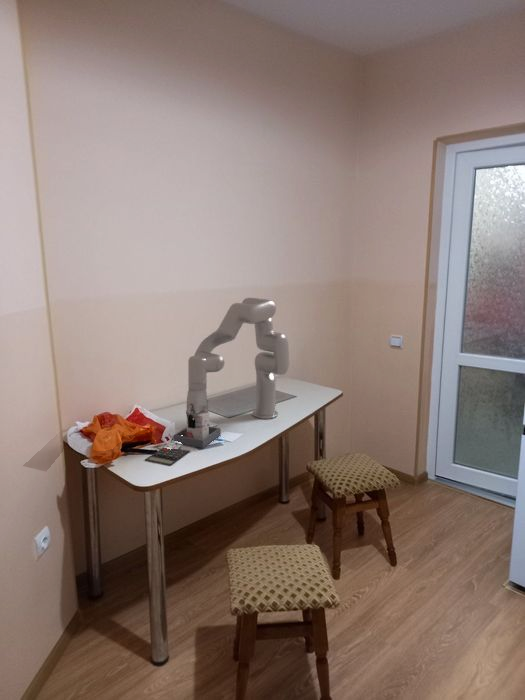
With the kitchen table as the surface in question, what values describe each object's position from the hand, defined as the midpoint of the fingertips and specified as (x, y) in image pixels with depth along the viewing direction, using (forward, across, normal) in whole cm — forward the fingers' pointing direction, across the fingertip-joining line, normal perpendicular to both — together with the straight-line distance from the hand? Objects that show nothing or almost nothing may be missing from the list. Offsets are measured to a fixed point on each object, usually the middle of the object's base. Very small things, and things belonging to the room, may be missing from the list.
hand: (197, 424), depth 215 cm
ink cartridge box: (+6, 0, 0) cm, 7 cm away
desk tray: (+7, 0, 0) cm, 7 cm away
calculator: (+7, +20, -2) cm, 21 cm away
